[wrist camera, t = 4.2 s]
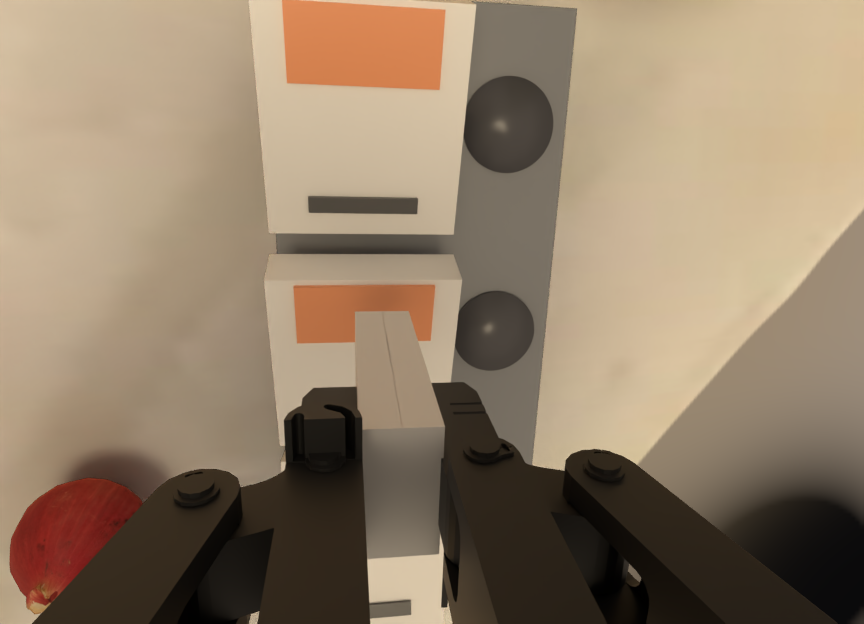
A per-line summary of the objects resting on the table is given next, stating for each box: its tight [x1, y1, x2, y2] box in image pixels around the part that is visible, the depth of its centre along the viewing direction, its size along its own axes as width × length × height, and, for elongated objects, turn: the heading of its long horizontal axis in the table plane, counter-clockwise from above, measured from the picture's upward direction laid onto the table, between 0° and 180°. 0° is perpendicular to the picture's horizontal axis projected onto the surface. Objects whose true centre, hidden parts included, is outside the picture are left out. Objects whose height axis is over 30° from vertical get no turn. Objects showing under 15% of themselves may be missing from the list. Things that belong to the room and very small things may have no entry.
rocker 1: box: [248, 0, 476, 235], centre depth 21 cm, size 7×8×2 cm
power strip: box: [276, 1, 577, 465], centre depth 29 cm, size 12×31×6 cm, turn 178°
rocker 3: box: [281, 451, 444, 624], centre depth 26 cm, size 7×8×2 cm
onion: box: [10, 478, 143, 614], centre depth 28 cm, size 6×6×8 cm
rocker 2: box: [264, 254, 462, 446], centre depth 24 cm, size 7×8×2 cm
